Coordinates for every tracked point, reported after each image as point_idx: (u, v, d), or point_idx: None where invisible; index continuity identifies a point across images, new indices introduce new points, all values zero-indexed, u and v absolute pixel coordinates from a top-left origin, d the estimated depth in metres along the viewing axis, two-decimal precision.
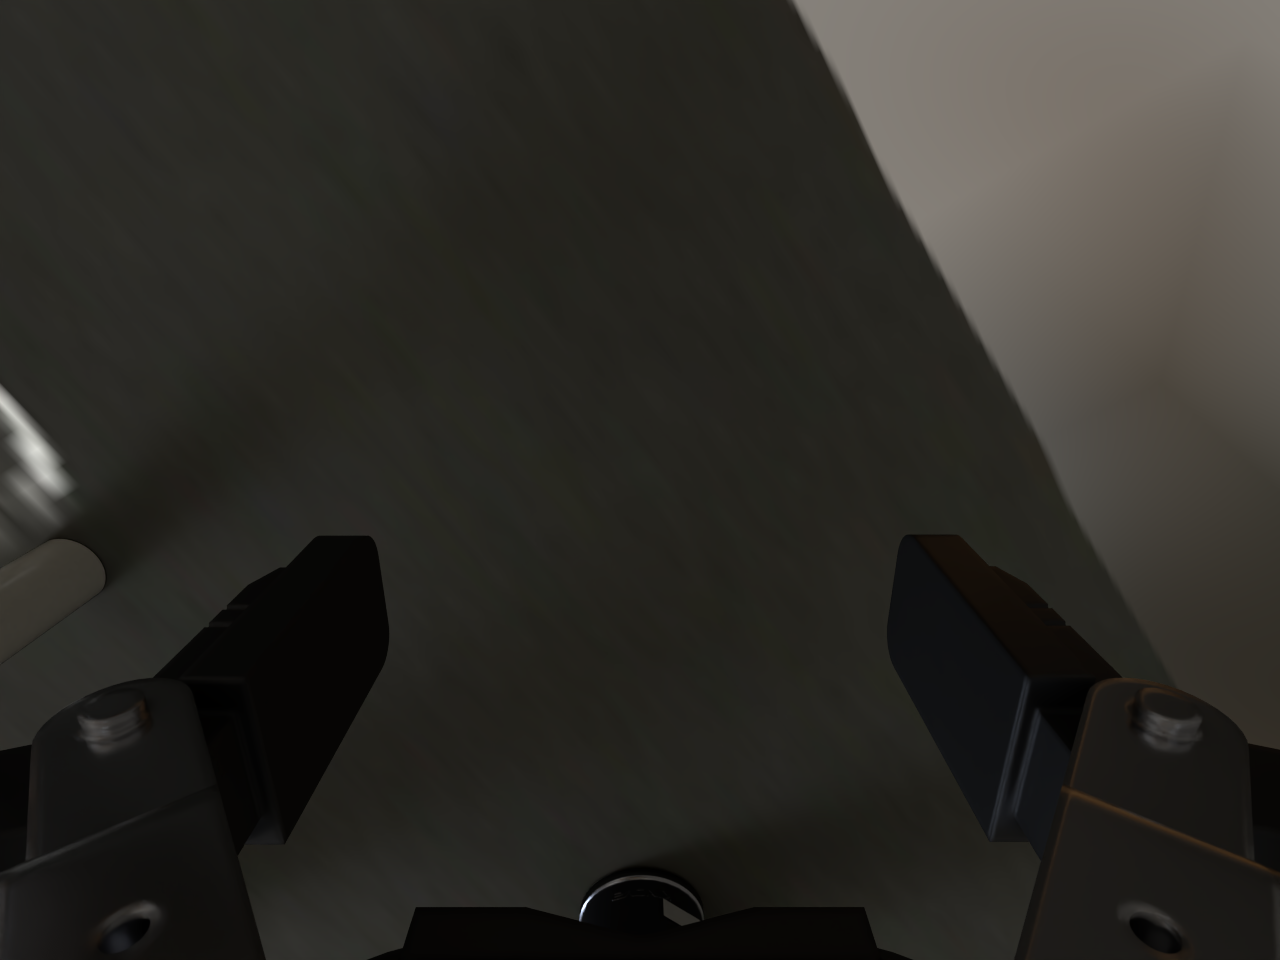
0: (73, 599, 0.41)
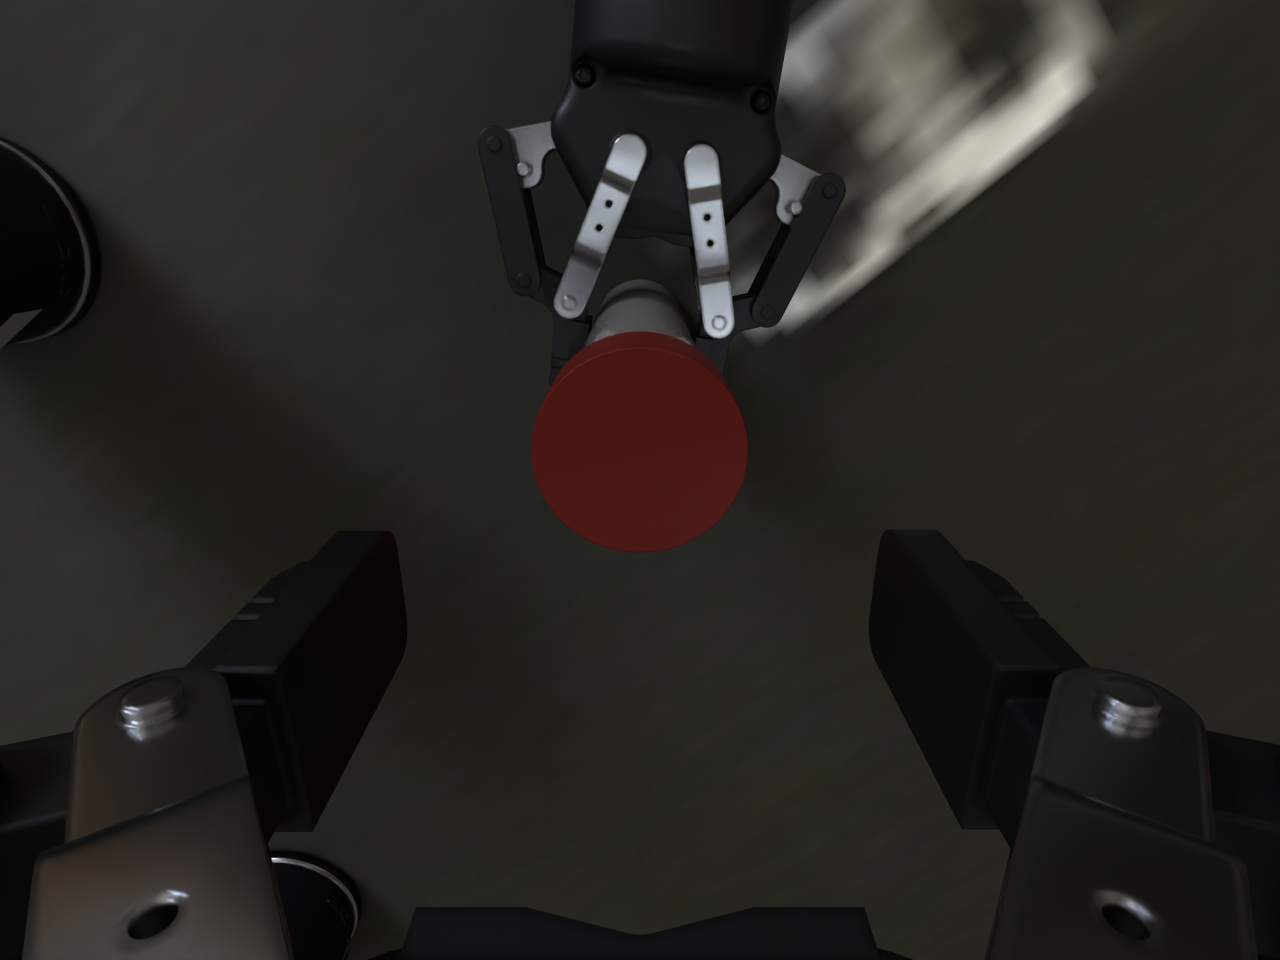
0: None
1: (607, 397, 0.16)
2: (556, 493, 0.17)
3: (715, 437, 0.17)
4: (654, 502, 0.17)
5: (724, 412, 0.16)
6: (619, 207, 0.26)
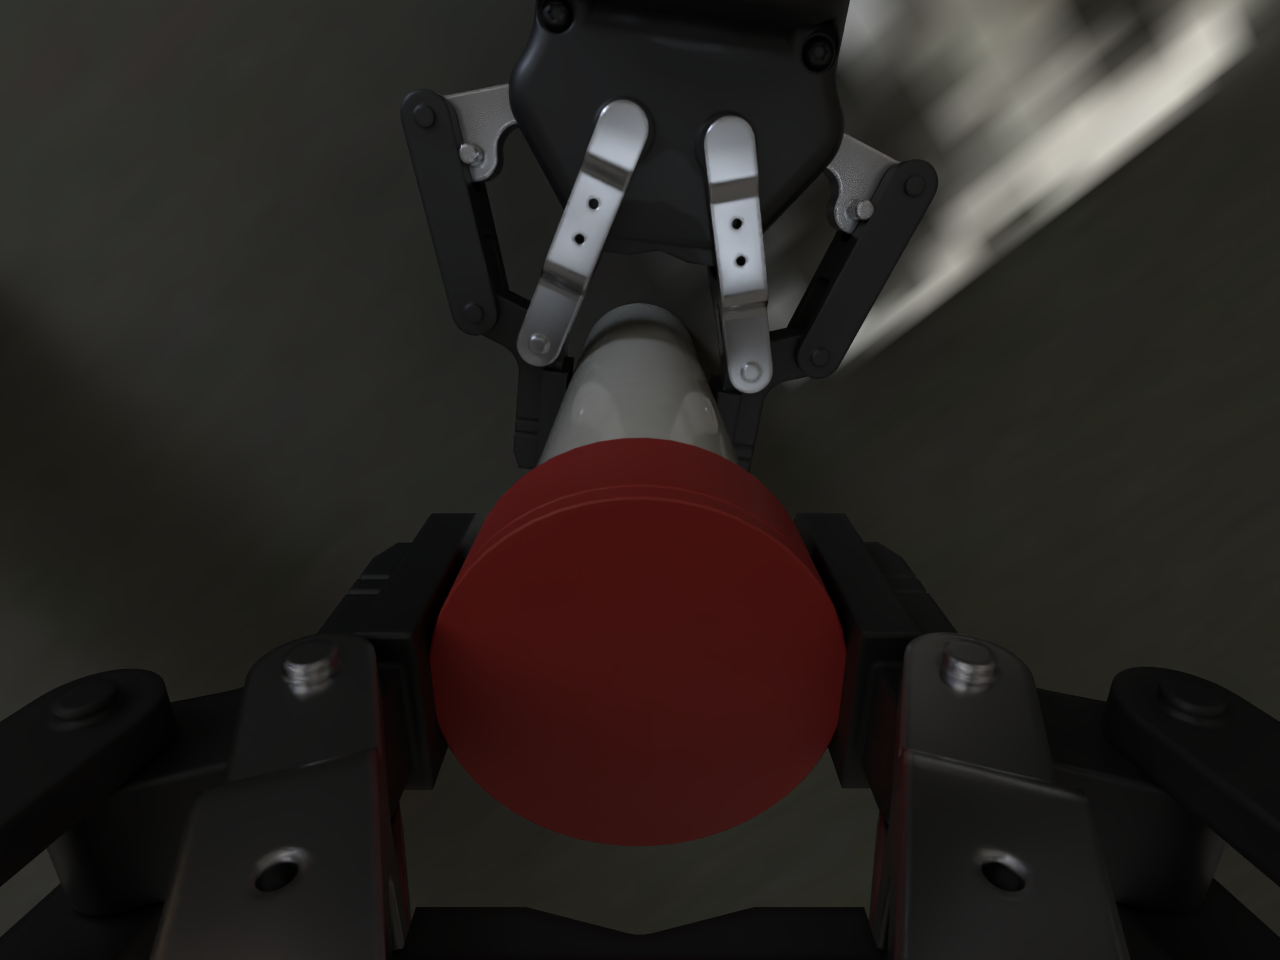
0: None
1: (573, 589, 0.08)
2: (480, 753, 0.09)
3: (786, 660, 0.09)
4: (665, 767, 0.09)
5: (805, 615, 0.08)
6: (609, 208, 0.18)
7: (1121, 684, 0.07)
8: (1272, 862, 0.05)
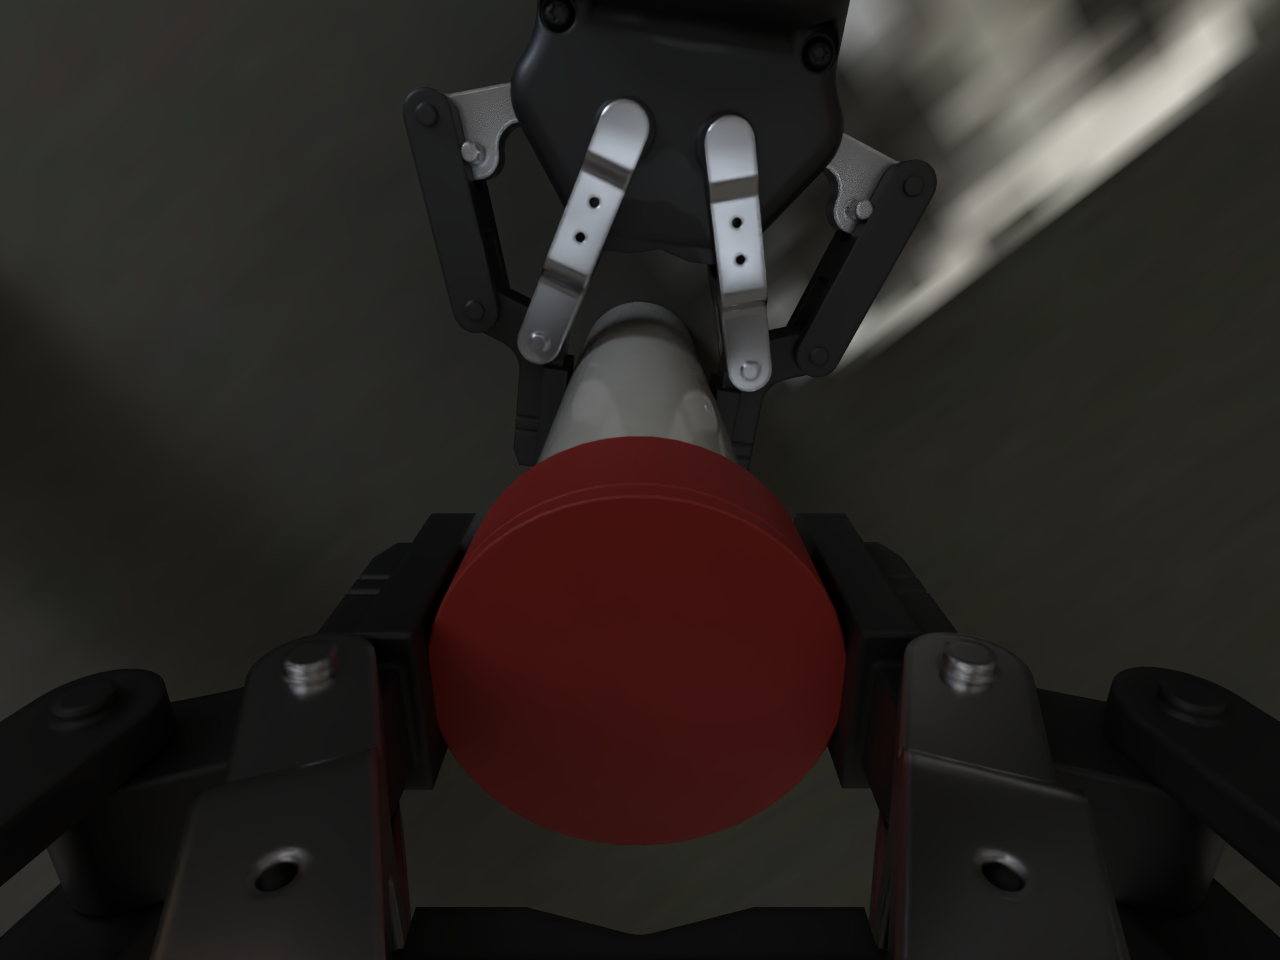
0: None
1: (530, 746, 0.09)
2: (723, 810, 0.09)
3: (582, 564, 0.08)
4: (734, 657, 0.09)
5: (527, 553, 0.08)
6: (610, 207, 0.18)
7: (1121, 684, 0.07)
8: (1272, 862, 0.05)
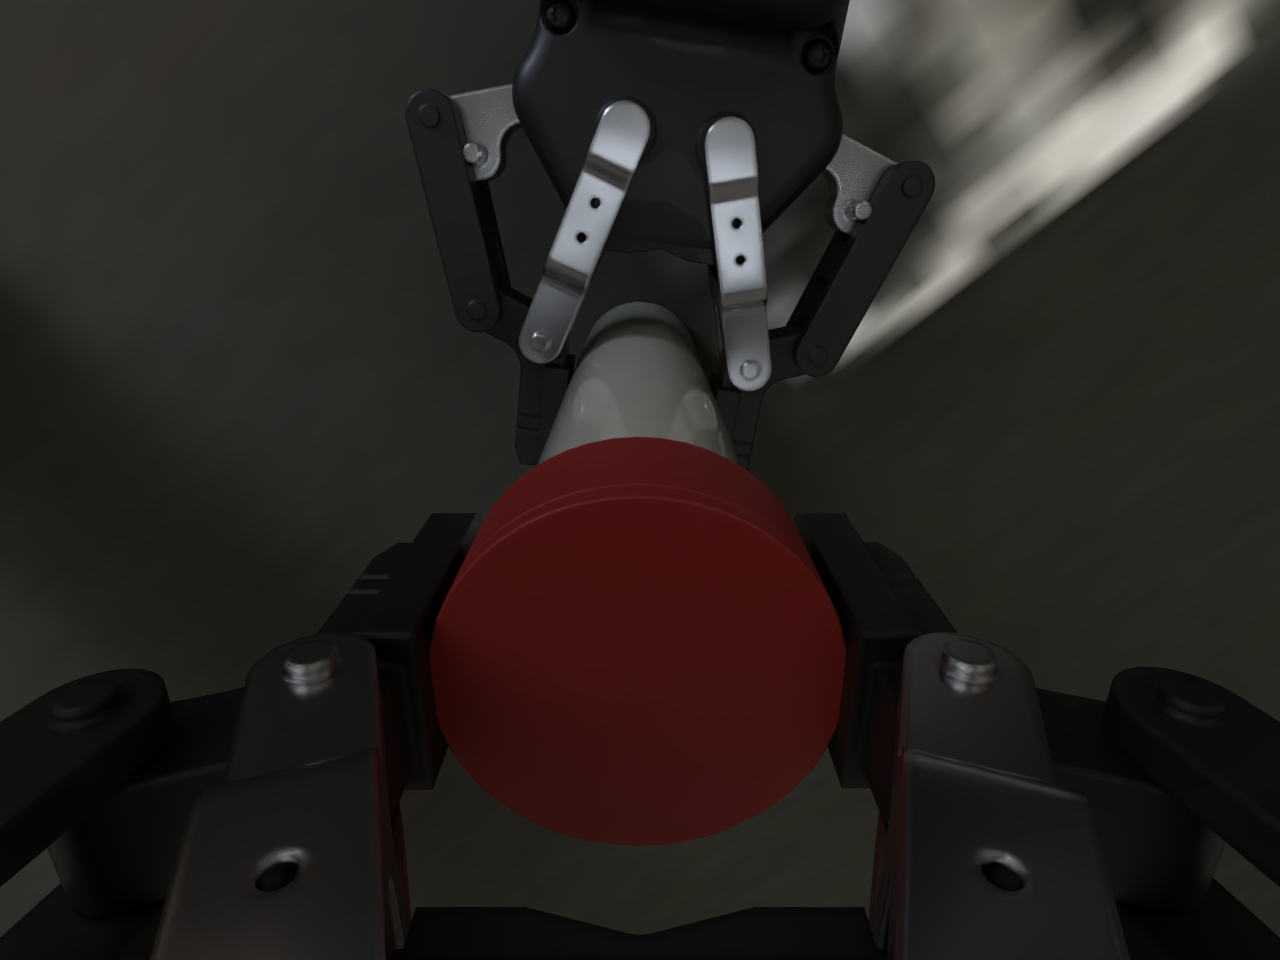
0: None
1: (715, 771, 0.09)
2: (794, 597, 0.08)
3: (505, 740, 0.09)
4: (589, 610, 0.08)
5: (504, 778, 0.09)
6: (610, 207, 0.18)
7: (1121, 684, 0.07)
8: (1273, 863, 0.05)
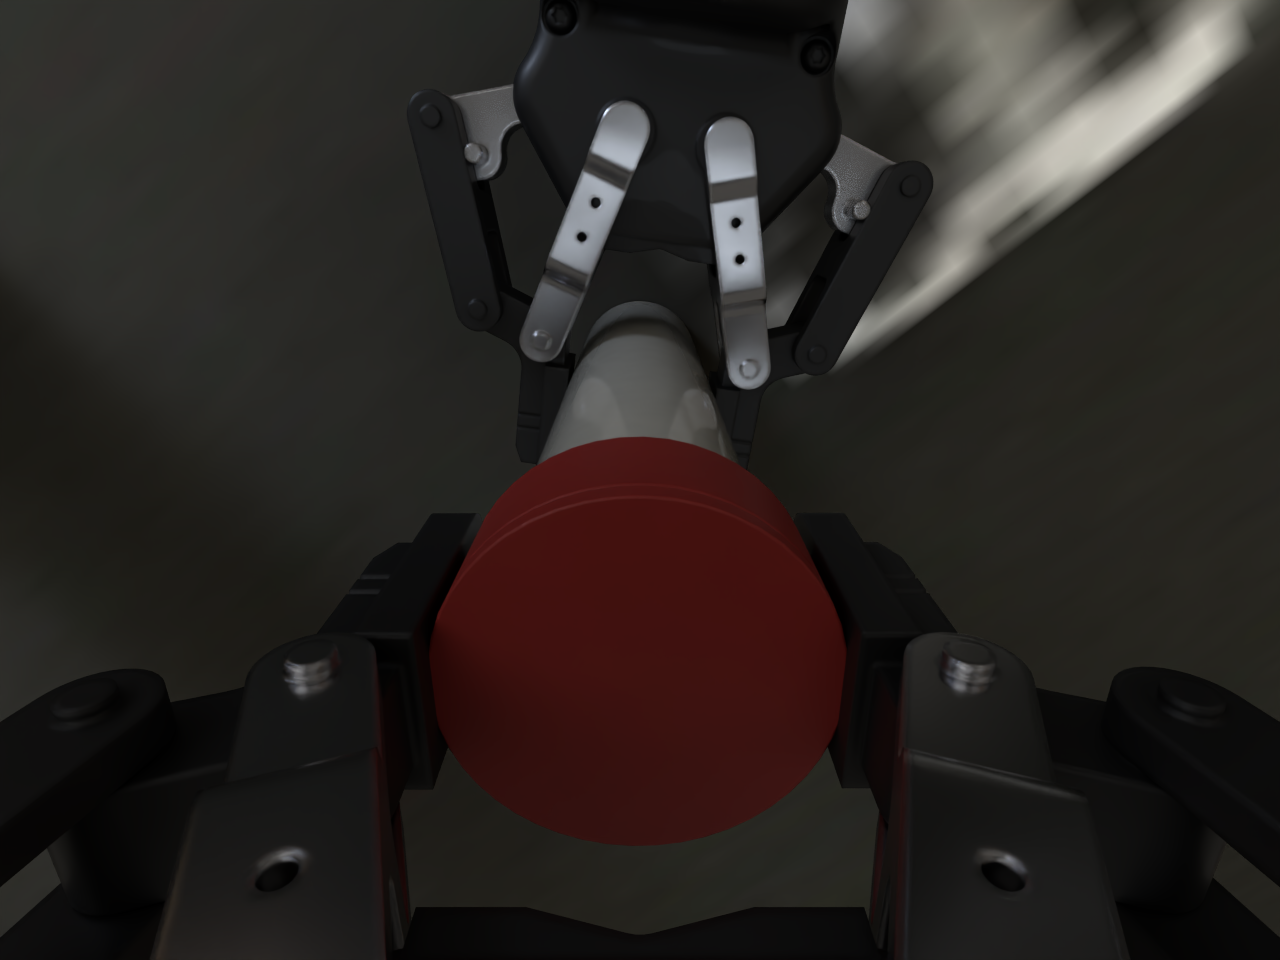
0: None
1: (737, 612, 0.08)
2: (508, 568, 0.08)
3: (708, 791, 0.09)
4: (553, 733, 0.09)
5: (756, 790, 0.09)
6: (611, 207, 0.18)
7: (1120, 684, 0.07)
8: (1271, 862, 0.05)
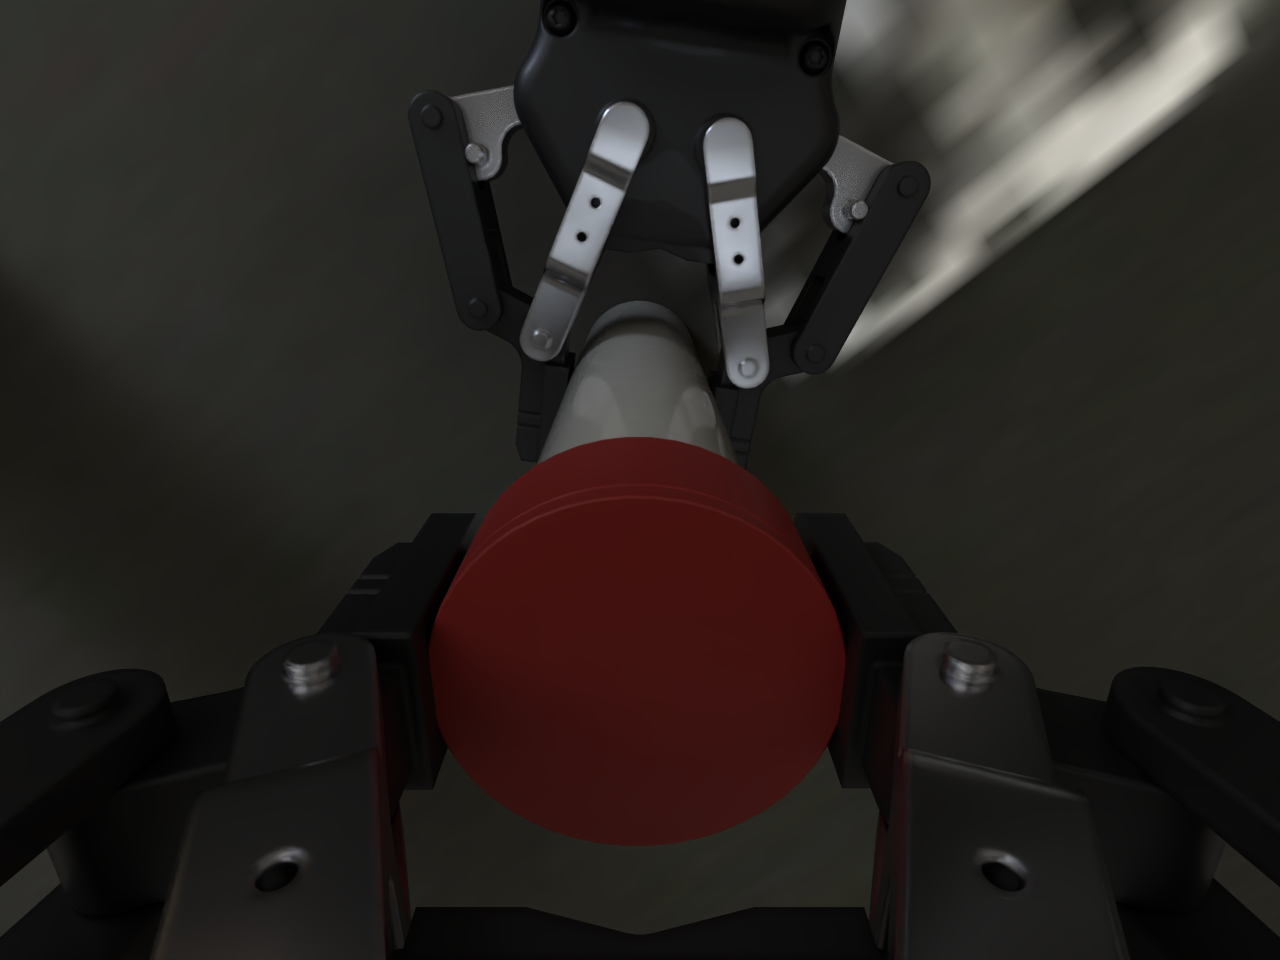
0: None
1: (533, 615, 0.08)
2: (518, 793, 0.09)
3: (764, 615, 0.08)
4: (696, 754, 0.09)
5: (763, 567, 0.08)
6: (610, 207, 0.18)
7: (1121, 684, 0.07)
8: (1271, 862, 0.05)
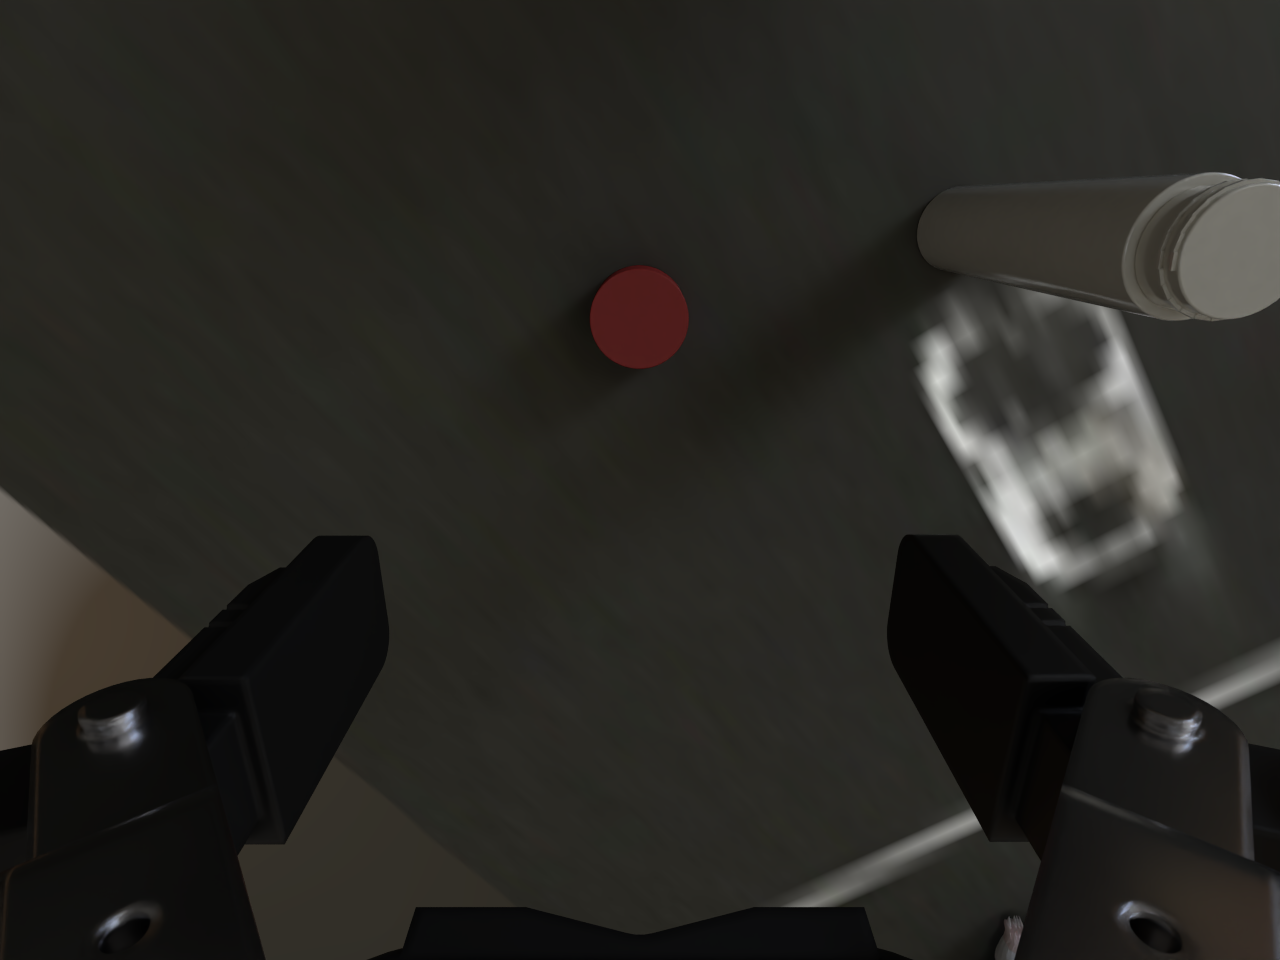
0: (938, 224, 0.35)
1: (621, 345, 0.37)
2: (672, 346, 0.37)
3: (615, 292, 0.36)
4: (657, 303, 0.37)
5: (603, 294, 0.37)
6: None
7: None
8: None
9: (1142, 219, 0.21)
